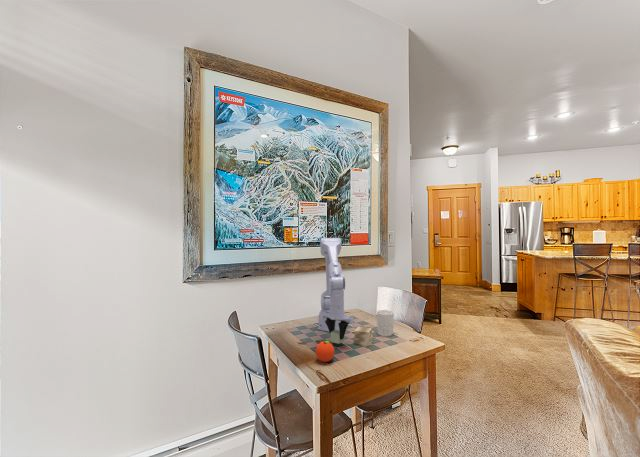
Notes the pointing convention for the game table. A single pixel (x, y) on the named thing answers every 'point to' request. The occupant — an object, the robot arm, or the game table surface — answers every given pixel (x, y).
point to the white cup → (385, 322)
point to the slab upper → (363, 333)
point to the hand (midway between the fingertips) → (337, 337)
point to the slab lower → (363, 341)
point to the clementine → (325, 351)
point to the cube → (336, 336)
